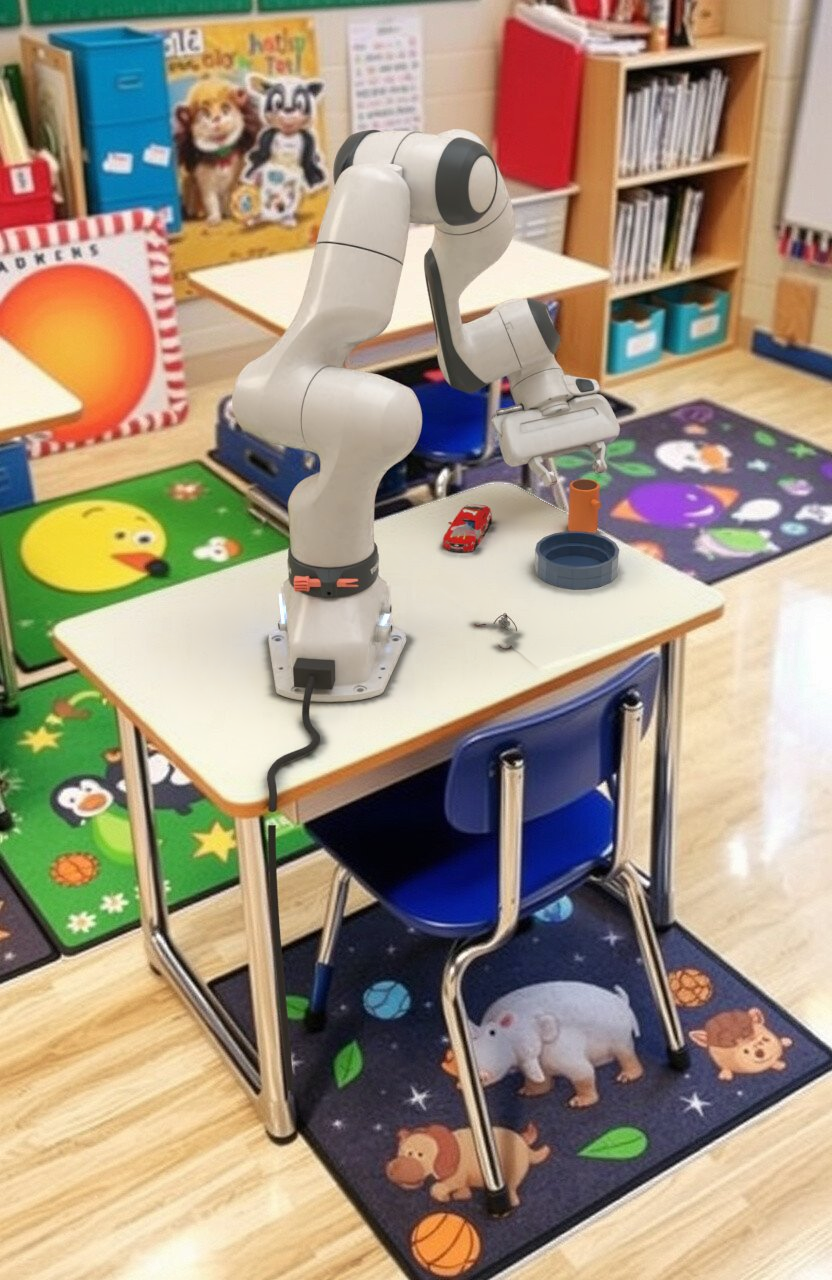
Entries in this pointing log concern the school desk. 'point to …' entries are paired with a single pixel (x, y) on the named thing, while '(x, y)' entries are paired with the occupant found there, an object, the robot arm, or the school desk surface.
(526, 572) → the school desk surface
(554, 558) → the bowl
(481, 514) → the race car
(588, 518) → the orange cylinder with nub
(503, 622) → the pendant
